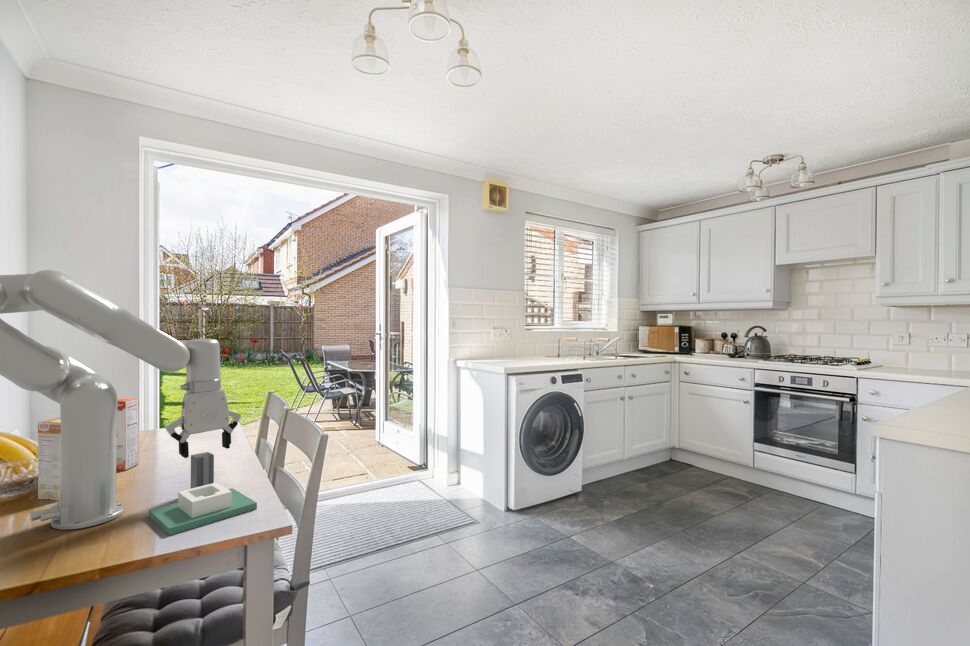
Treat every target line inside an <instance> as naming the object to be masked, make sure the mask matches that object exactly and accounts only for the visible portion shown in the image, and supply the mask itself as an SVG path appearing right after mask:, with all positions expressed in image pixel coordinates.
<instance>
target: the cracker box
mask: <svg viewBox="0 0 970 646" xmlns="http://www.w3.org/2000/svg"><path fill="white" fill-rule="evenodd" d="M117 398H118V409H117V423H116V472H125V471H128V470H131V469H132V468H134V467H137V466H138V465H139V431H140V430H139V427H140V426H139V419H140V418H139V416H140V415H139V414H140V413H139V411H140V410H139V409H140V408H139V403H140V402H139V401H140V400H139V398H138V397H117Z"/></svg>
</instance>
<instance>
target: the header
mask: <svg viewBox="0 0 970 646" xmlns="http://www.w3.org/2000/svg"><path fill="white" fill-rule="evenodd" d="M228 489H229V488H227V487H225V486H223V485H222V484H220V483H218V482H214V483H212V484H208V485H204V486H200V487H196V488H192V489H191V488H189V489H187V488H186V489H185V490H180V491H177V502H178V507H179V508H180V509H181V510H183V511H184V512H185V513H186V514H188V515H189V516H190V517H191V518H194V517H197V516H201V515H204V514H208V513H211V512H215V511H218V510H222V509H225V508H229V507H232V492H231V491H230V490H228Z"/></svg>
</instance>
